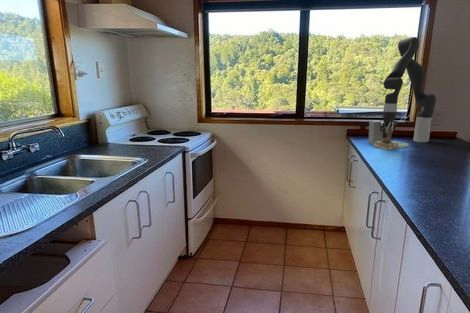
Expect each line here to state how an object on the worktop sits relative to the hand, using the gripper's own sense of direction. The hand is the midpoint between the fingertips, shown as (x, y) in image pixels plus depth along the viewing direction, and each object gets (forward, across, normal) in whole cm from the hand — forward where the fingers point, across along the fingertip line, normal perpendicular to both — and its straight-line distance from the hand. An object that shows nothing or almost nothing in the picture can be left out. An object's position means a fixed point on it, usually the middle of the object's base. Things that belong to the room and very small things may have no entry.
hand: (386, 137), depth 205 cm
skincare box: (+7, -6, -13) cm, 16 cm away
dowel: (+5, 0, 0) cm, 5 cm away
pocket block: (+7, 0, 0) cm, 7 cm away
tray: (+7, -11, 0) cm, 13 cm away
